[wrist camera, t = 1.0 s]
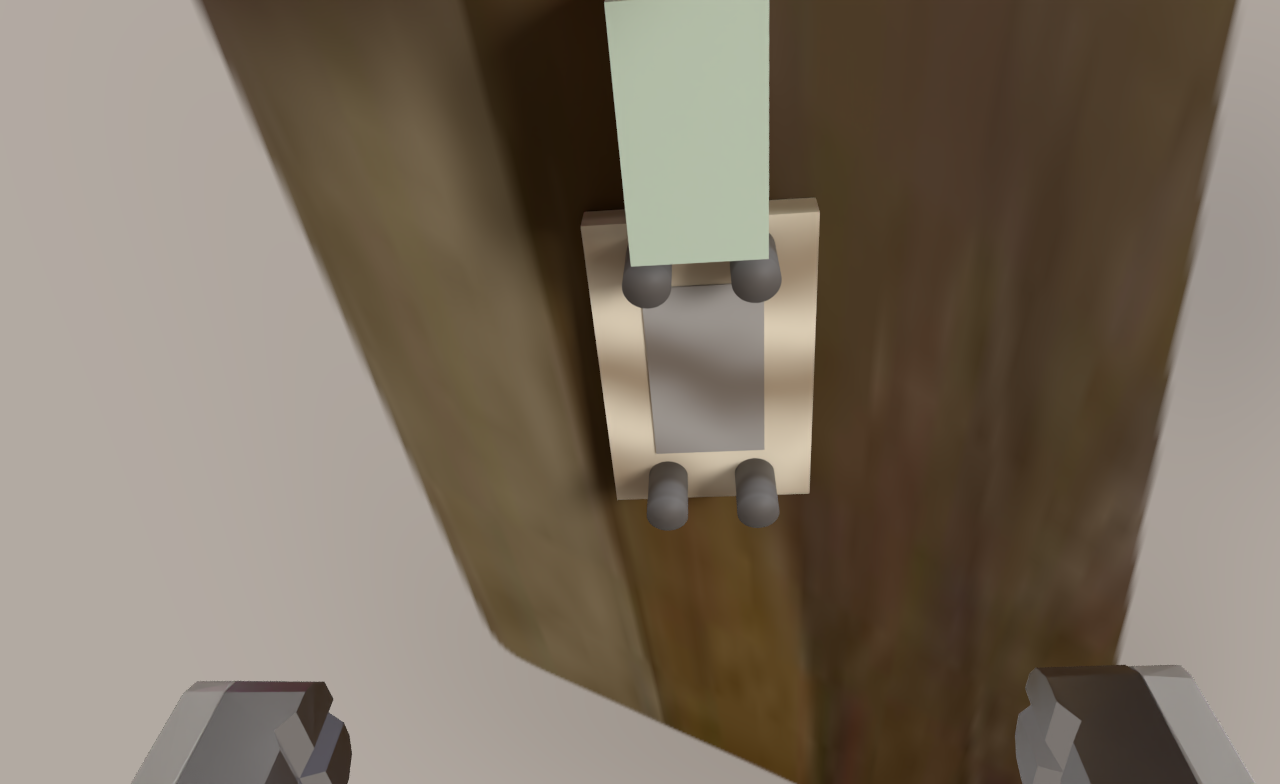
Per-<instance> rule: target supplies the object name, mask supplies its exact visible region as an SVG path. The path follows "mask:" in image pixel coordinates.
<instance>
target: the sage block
mask: <svg viewBox="0 0 1280 784" xmlns="http://www.w3.org/2000/svg"><path fill="white" fill-rule="evenodd" d="M604 6H605V16H606V26H607V36H608V46H609V56H610V65H611V75H612V85H613V95H614V105H615V115H616V125H617V134H618V144H619V154H620V164H621V174H622V184H623V194H624V203H625V213H626V223H627V233H628V243H629V253H630V263H631V267H634V266H652V265H670V264H688V263H706V262H724V261H741V260H759V259H769V0H605V1H604Z"/></svg>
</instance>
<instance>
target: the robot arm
mask: <svg viewBox="0 0 1280 784" xmlns="http://www.w3.org/2000/svg"><path fill="white" fill-rule="evenodd" d="M1025 689H1026V692H1027V694H1028V697H1029V700H1030V702H1031V706H1029V707H1028V708H1027V709H1025V710H1024V711H1022V712H1021V713H1020V714H1019V717H1018V722H1017V727H1016V732H1015V738H1016V757H1017V762H1018V766H1019V771H1020V775H1021V779H1022V782H1023V784H1256V783H1255V782H1254V780H1253V778H1252V776H1251V775H1250V773H1249V771H1248V770H1247V768H1246V766H1245V765H1244V763H1243V761H1242V759H1241V758H1240V756H1239V754H1238V753H1237V751H1236V749H1235V748H1234V746H1233V744H1232V743H1231V741H1230V739H1229V738H1228V736H1227V734H1226V733H1225V731H1224V729H1223V727H1222V726H1221V724H1220V723H1219V721H1218V719H1217V717H1216V716H1215V714H1214V712H1213V711H1212V709H1211V708H1210V706H1209V704H1208V702H1207V701H1206V699H1205V697H1204V695H1203V694H1202V692H1201V691H1200V689H1199V687H1198V685H1197V684H1196V682H1195V680H1194V679H1193V677H1192V675H1191V674H1190V673H1189V672H1188V671H1187V670H1185V669H1184V668H1183V667H1181V666H1179V665H1158V666H1157V665H1155V666H1130V667H1128V666H1126V665H1107V666H1076V667H1045V668H1035V669H1034V670H1033V671H1032V672H1031V673H1030V674H1029V677H1028V681H1027V685H1026V688H1025ZM332 701H333V697H332V696H331V694H330V692H329V690H328V688H327V686H326V684H325V682H285V681H282V682H281V681H279V682H278V681H270V682H269V681H200V682H199V681H198V682H196V683H195V684H193V685H192V686H191V687H190V688H189V689H188V690H186V691H185V692H184V693H183V695H182V696H181V698H180V700H179V701H178V704H177V705H176V707H175V708H174V710H173V712H172V714H171V715H170V717H169V719H168V721H167V722H166V724H165V726H164V727H163V729H162V731H161V733H160V734H159V736H158V738H157V739H156V741H155V743H154V745H153V746H152V748H151V750H150V752H149V753H148V755H147V757H146V758H145V760H144V762H143V764H142V765H141V767H140V769H139V770H138V773H137V774H136V776H135V777H134V779H133V781H132V783H131V784H347V783H348V780H349V773H350V765H351V756H352V751H351V744H350V736H349V734H348V731H347V729H346V726H345V724H344V722H342V721H341V720H339V719H338V718H336V717H335V716H333V715H332V714H330V713H329V709H330V707H331V704H332Z"/></svg>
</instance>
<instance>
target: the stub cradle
mask: <svg viewBox="0 0 1280 784" xmlns="http://www.w3.org/2000/svg"><path fill="white" fill-rule="evenodd" d="M819 220H820V211H819V208H818V204H817V201H816V198H800V199H784V200H769V259H759V260H741V261H724V262H706V263H688V264H670V265H652V266H634V267H631V263H630V253H629V243H628V233H627V223H626V213H625V209H622V210H606V211H590V212H584V214H583V218H582V222H581V234H582V241H583V249H584V256H585V263H586V271H587V278H588V286H589V293H590V300H591V308H592V315H593V323H594V330H595V338H596V345H597V352H598V360H599V367H600V375H601V382H602V389H603V397H604V404H605V412H606V419H607V427H608V434H609V441H610V449H611V456H612V464H613V471H614V478H615V486H616V493H617V500H624V499H648V504H647V518H648V521H649V522H650V524H652V525H653V526H654V527H656V528H658V529H661V530H675V529H678V528H680V527H681V526H683V525H684V524H685V523H686V521H687V519H688V497H715V496H736V498H737V513H738V518H739V519H740V521H741V522H742V523H744V524H745V525H747V526H750V527H755V528H761V527H766V526H768V525H770V524H772V523H774V522H775V521H776V519H777V518H778V516H779V505H778V497H777V494H806V493H809V487H810V460H811V433H812V406H813V380H814V353H815V326H816V300H817V273H818V246H819Z"/></svg>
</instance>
